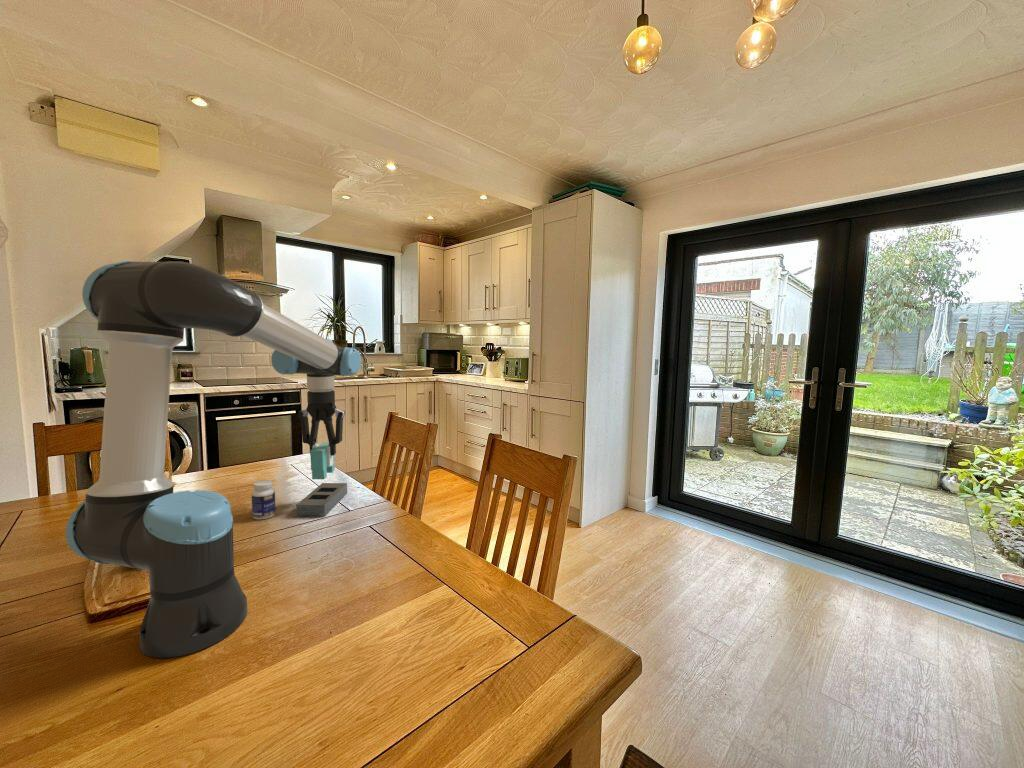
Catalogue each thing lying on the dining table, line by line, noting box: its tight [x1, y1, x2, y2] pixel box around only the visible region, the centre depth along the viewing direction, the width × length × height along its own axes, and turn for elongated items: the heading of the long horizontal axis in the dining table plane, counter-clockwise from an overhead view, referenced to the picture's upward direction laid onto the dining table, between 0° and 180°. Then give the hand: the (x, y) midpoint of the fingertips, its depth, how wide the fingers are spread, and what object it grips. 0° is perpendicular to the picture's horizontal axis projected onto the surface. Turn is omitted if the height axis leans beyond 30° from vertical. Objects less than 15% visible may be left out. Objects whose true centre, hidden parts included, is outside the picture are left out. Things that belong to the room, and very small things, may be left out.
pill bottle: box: [251, 479, 276, 520], centre depth 116 cm, size 6×6×10 cm
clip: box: [309, 442, 336, 480], centre depth 125 cm, size 9×4×9 cm, turn 2°
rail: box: [295, 482, 348, 518], centre depth 126 cm, size 18×8×4 cm, turn 2°
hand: (323, 465), depth 125 cm, fingers closed on clip, 3 cm apart
